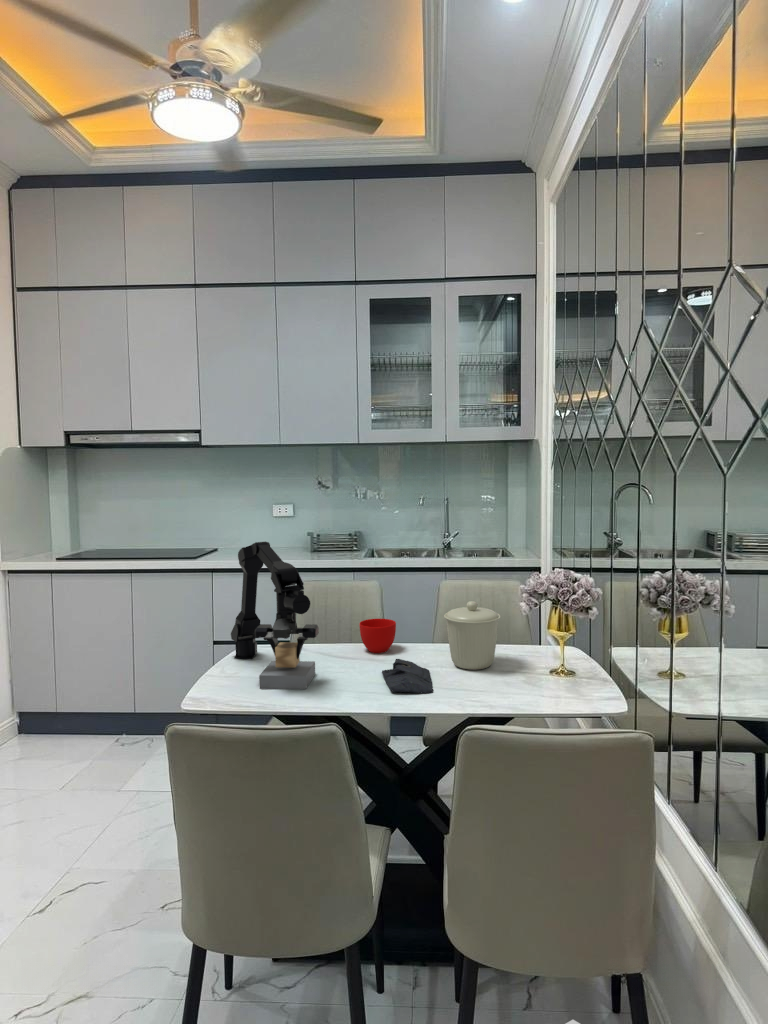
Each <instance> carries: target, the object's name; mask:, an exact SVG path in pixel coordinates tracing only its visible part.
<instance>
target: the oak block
mask: <svg viewBox="0 0 768 1024" xmlns="http://www.w3.org/2000/svg"><path fill="white" fill-rule="evenodd" d="M297 644H298V642H296V641H293V642H292V641H291V642H289V641H288V642H287V641H285V642H284V641H282V642H281V641H280V642H278V645H277V646H276V647H275V654H274V656H275V657H274V659H275V660H274V661H276V667H296V666H297V664H298V663H299V661H301V660H300V658H299V659H297Z"/></svg>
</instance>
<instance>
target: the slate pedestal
mask: <svg viewBox="0 0 768 1024" xmlns="http://www.w3.org/2000/svg"><path fill="white" fill-rule="evenodd" d="M315 675H316V661H314V660H310V661H309V660H308V661H307V660H304V661H302V660H300V661H299V663H298V664H297V666H296V667H276V661H275V660H271V661H270V662H269V663H268V665H266V667H265V668H264V669H263V670H262V672H260V674H259V675H258V678H259V681H258V682H259V683H258V686H259V689H262V690H264V689H265V690H266V689H267V690H268V689H269V690H274V689H275V690H307V688H308V687H309V685H310V684H311V682H312V680H313V678H314V677H315Z"/></svg>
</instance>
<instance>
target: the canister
mask: <svg viewBox="0 0 768 1024" xmlns="http://www.w3.org/2000/svg"><path fill="white" fill-rule="evenodd" d="M443 617H444V619H445V621H446V628H447V629H446V630H447V639H448V644H449V652H450V658H451V661H452V663H453V664H454V665H455V666H456V667H457V668H460V669H463V670H468V671H469V670H472V671H473V670H474V671H475V670H476V671H478V670H483V669H487V668H489V667H490V666H492V665H493V662H494V660H495V653H496V648H497V647H496V646H497V638H498V629H499V628H498V627H499V620H500V619H501V614H499V613H498V612H497V611H495V610H492V609H490V608H487V607H486V608H485V607H478V603H477V602H476V601H474V600H473V601H472V600H470V601H467V603H466V606H463V607H457V608H452V609H450V610H449V611H448V612H445V614H444V615H443Z"/></svg>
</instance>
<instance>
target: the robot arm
mask: <svg viewBox="0 0 768 1024" xmlns="http://www.w3.org/2000/svg"><path fill="white" fill-rule="evenodd" d="M237 560H238V565H239V567H241V569H242V571H243V573H242V591H241V609H240V611H239V612H238V614H237V616H236V617H235V621H234V622H235V623H234V626H233V628H232V630H231V631H230V639H231V640H232V641H233V642H235V644H234V645H235V656H234V657H233V658H234V659H241V660H242V659H247V660H248V659H249V660H250V659H251V660H252V659H253V658H255V656H257V655H258V642H257V641H256V639H259V638H263V640H264V641H267V642H268V643H269V645H270V647H271V649H272V652H273V654H274V655H275V647H276V646H277V645H278V644H279V641H278V640H279V639H285V640H286V639H289V638H290V637H291V635H298V637H297V639H296V640H297V642H298V644H297V659H300V655H301V654H302V653H301V652H302V650H303V648H304V647H303V646H304V644H305V642H306V641H308V639H315V638H317V636H318V635H319V634H320V633H319V630H320V628H319V626H318V625H317V624H305V625H304V626H303V627H298V623H297V614H298V615H303V614H305V613H307V612H308V611H309V609H310V608H311V600H310V598H309V597H308V596H307V595H305V592H304V590H305V588H304V582H303V580H302V577H301V576H300V573H299V570H298V569H297V568H296V567H295V566H294V565H293V564H291V563H288V562H285V561H283V560H282V558H280V556H279V555H278V554H277V552H275V550H274V549H273V548H272V546H271V543H270V542H269V541H255V542H254V543H252V544H250V545H248V546H244V547H241V548H240V549H239V550H238V553H237ZM264 566H265V568H267V570H268V571H269V572H270V573H271V575H270V579H271V582H272V584H273V585H274V589H273V591H274V592H275V593H276V594H275V595H276V613H275V614H276V615H275V620H274V624H273V626H272V624H269V623H267V624H265V623H263V624H261V619H260V617H259V616H258V615H257V613H256V607H257V596H258V595H257V594H258V593H257V592H258V576H259V572H260V571H261V569H262V568H263V567H264Z"/></svg>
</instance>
